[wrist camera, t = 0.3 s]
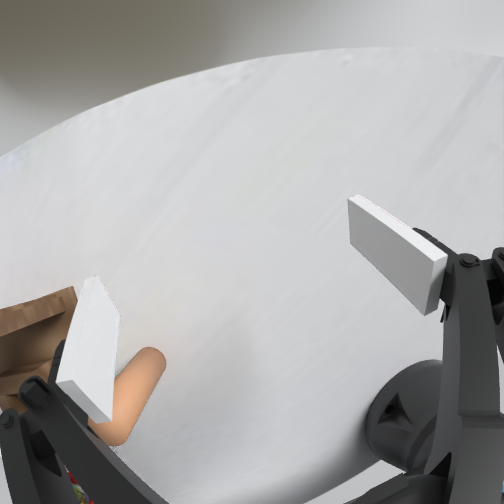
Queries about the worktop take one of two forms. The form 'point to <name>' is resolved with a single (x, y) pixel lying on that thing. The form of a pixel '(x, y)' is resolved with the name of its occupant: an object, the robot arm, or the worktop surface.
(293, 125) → the worktop surface
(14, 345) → the socket station
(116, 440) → the peg
